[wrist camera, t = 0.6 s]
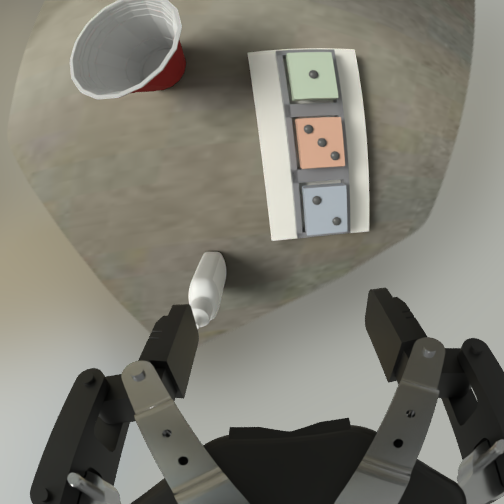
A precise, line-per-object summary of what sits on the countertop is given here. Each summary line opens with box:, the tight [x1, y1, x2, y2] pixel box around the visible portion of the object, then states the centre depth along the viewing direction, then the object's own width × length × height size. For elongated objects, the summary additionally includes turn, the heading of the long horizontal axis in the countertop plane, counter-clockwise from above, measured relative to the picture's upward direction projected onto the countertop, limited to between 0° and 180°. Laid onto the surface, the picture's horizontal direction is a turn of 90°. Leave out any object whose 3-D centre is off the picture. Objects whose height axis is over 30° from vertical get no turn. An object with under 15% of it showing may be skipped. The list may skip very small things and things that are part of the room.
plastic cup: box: [70, 0, 186, 99], centre depth 21 cm, size 11×11×12 cm
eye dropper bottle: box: [189, 252, 226, 329], centre depth 31 cm, size 4×6×12 cm
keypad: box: [248, 48, 369, 241], centre depth 28 cm, size 22×12×4 cm, turn 7°
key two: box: [302, 183, 347, 236], centre depth 28 cm, size 5×4×2 cm
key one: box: [286, 52, 338, 101], centre depth 23 cm, size 5×4×2 cm
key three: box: [295, 117, 345, 169], centre depth 25 cm, size 5×4×2 cm
